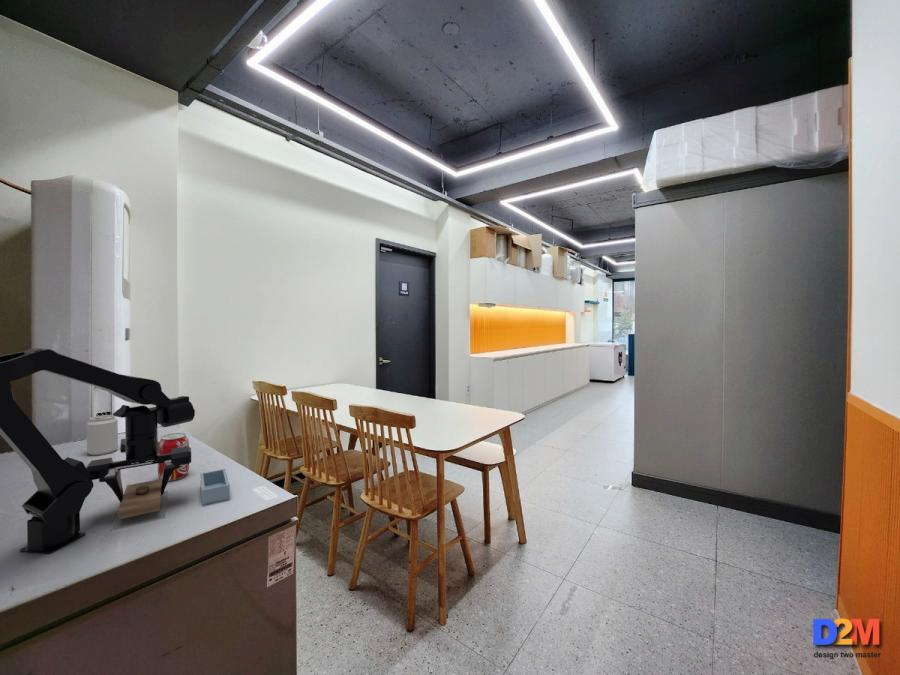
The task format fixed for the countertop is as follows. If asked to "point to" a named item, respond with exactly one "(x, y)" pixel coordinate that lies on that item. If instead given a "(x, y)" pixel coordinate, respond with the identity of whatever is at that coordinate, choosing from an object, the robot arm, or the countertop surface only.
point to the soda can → (166, 447)
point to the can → (102, 435)
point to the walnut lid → (141, 499)
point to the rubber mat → (142, 516)
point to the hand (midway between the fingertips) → (142, 498)
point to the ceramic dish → (214, 487)
